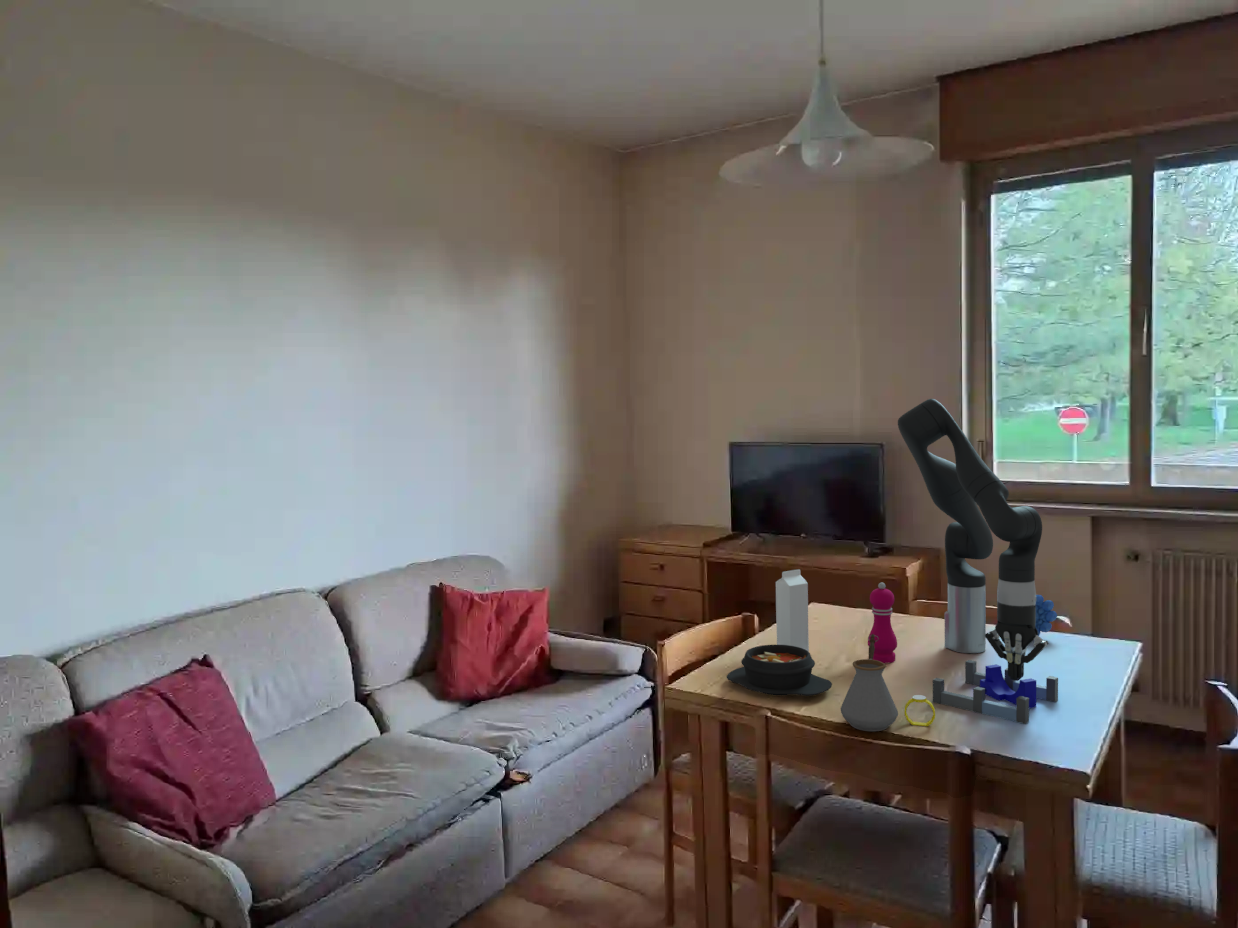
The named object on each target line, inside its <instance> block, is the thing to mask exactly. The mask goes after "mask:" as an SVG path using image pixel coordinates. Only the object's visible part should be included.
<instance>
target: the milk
mask: <svg viewBox="0 0 1238 928" xmlns="http://www.w3.org/2000/svg"><path fill="white" fill-rule="evenodd" d="M808 591H809V584H808V582H807V580H806V579H805V578H804V577H803V576H802V575H801V569H799V568H798V569H791V570H787V571H786V570H785V571H782V572H781V578H779V579H777V580H776V581H775V611H776V612H775V616H776V617H775V618H776V622H775V623H776V626H775V627H776V645H789V646H795V647H799V648H803V649H805V650H807V651H808V652H809V651H810V650H809V648H810V647H809V643H810V642H809V640H810V639H809V594H808V593H809V592H808ZM809 653H810V652H809Z"/></svg>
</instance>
